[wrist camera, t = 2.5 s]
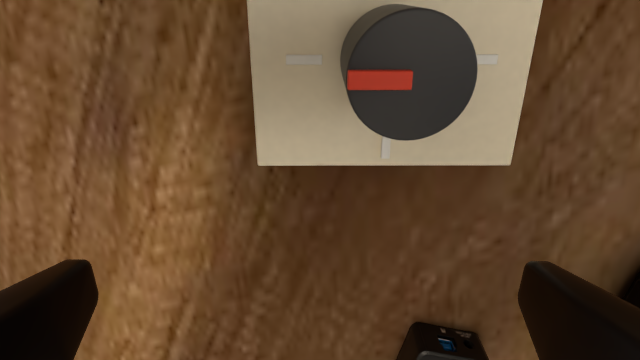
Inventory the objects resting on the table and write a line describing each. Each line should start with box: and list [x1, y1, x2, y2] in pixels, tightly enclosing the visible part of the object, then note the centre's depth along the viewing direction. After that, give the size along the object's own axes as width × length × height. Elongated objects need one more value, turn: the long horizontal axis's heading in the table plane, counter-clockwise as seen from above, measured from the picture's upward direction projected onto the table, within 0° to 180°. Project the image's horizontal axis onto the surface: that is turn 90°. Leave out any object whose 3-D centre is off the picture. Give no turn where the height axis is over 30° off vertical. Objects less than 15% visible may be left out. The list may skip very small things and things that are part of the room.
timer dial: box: [340, 4, 478, 141], centre depth 14 cm, size 4×4×4 cm
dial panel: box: [247, 0, 543, 166], centre depth 18 cm, size 11×9×3 cm
